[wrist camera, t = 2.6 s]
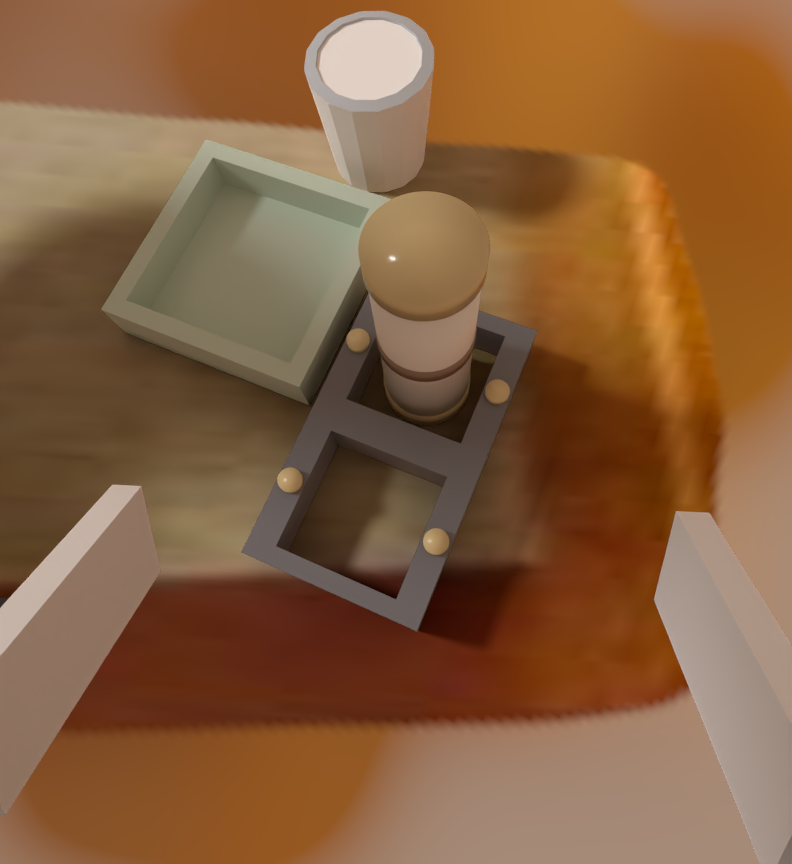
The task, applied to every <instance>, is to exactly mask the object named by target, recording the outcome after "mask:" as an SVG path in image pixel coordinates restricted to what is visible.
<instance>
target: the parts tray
mask: <svg viewBox="0 0 792 864" xmlns="http://www.w3.org/2000/svg"><path fill="white" fill-rule="evenodd" d="M389 200H391V199H389V198H386V197H383V196H379V195H376V194H373V193H370V192H367V191H364V190H361V189H358V188H355V187H352V186H349V185H345V184H342V183H339V182H336V181H333V180H330V179H327V178H324V177H321V176H318V175H315V174H312V173H308V172H305V171H302V170H299V169H296V168H293V167H290V166H287V165H284V164H281V163H278V162H274V161H271V160H268V159H265V158H262V157H259V156H256V155H253V154H250V153H247V152H244V151H241V150H237V149H234V148H231V147H228V146H225V145H222V144H219V143H216V142H213V141H210V140H207V139H206V140H205V142H204V144H203V145H202V147H201V148H200V150H199V152H198V153H197V155H196V156H195V158H194V160H193V161H192V163H191V165H190V166H189V168H188V169H187V171H186V173H185V174H184V176H183V177H182V179H181V181H180V182H179V184H178V186H177V187H176V189H175V190H174V192H173V194H172V195H171V197H170V199H169V200H168V202H167V203H166V205H165V207H164V208H163V210H162V211H161V213H160V215H159V216H158V218H157V220H156V221H155V223H154V224H153V226H152V228H151V229H150V231H149V233H148V234H147V236H146V237H145V239H144V241H143V242H142V244H141V245H140V247H139V249H138V250H137V252H136V254H135V255H134V257H133V258H132V260H131V262H130V263H129V265H128V266H127V268H126V270H125V271H124V273H123V275H122V276H121V278H120V279H119V281H118V283H117V284H116V286H115V288H114V289H113V291H112V292H111V294H110V296H109V297H108V299H107V300H106V302H105V304H104V305H103V307H102V309H101V310H102V311H103V312H104V313H105V314H106V315H107V316H108V317H109V318H110V319H111V320H112V321H113V322H115V323H116V324H117V325H118V326H119V327H120V328H121V329H122V330H123V331H124V332H125V333H127V334H129V335H132V336H134V337H137V338H139V339H142V340H145V341H147V342H150V343H152V344H155V345H157V346H160V347H162V348H165V349H167V350H170V351H172V352H175V353H177V354H180V355H182V356H185V357H187V358H190V359H193V360H195V361H198V362H200V363H203V364H205V365H208V366H210V367H213V368H215V369H218V370H220V371H223V372H225V373H228V374H230V375H233V376H235V377H238V378H241V379H243V380H246V381H248V382H251V383H253V384H256V385H258V386H261V387H263V388H266V389H268V390H271V391H273V392H276V393H278V394H281V395H283V396H286V397H289V398H291V399H294V400H296V401H299V402H301V403H304V404H306V405H309V406H310V405H311V403H312V400H313V398H314V396H315V394H316V392H317V390H318V388H319V386H320V384H321V382H322V380H323V378H324V376H325V374H326V372H327V370H328V368H329V366H330V364H331V362H332V360H333V358H334V356H335V354H336V352H337V350H338V348H339V346H340V344H341V342H342V340H343V338H344V336H345V334H346V331H347V329H348V327H349V325H350V323H351V321H352V319H353V317H354V315H355V313H356V311H357V309H358V307H359V305H360V303H361V301H362V299H363V297H364V295H365V293H366V291H367V289H366V286H365V283H364V280H363V275H362V270H361V265H360V260H359V255H358V245H359V238H360V235H361V232H362V229H363V227H364V225H365V223H366V222H367V220H368V219H369V217H370V216H371V215H372V214H373V213H374V212H375V211H376V210H377V209H378V208H379V207H380V206H382V205H383V204H384V203H386V202H388V201H389Z"/></svg>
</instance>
